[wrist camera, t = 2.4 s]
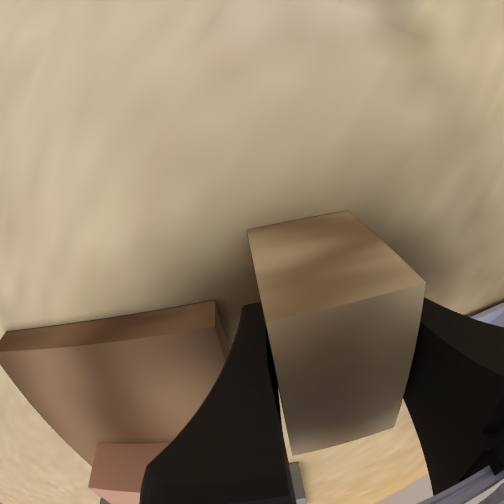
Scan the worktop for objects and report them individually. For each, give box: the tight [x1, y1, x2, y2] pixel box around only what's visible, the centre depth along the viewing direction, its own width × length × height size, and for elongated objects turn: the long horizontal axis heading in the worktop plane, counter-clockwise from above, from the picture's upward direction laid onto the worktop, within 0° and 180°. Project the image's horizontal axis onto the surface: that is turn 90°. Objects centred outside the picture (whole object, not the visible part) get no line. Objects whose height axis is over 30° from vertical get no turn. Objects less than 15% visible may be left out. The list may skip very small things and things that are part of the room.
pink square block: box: [88, 443, 170, 504], centre depth 13 cm, size 6×6×3 cm
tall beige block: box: [247, 211, 426, 456], centre depth 10 cm, size 4×6×5 cm, turn 10°
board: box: [0, 300, 230, 466], centre depth 14 cm, size 11×14×2 cm
